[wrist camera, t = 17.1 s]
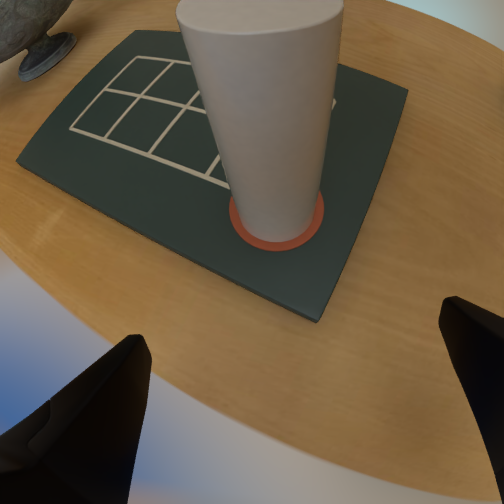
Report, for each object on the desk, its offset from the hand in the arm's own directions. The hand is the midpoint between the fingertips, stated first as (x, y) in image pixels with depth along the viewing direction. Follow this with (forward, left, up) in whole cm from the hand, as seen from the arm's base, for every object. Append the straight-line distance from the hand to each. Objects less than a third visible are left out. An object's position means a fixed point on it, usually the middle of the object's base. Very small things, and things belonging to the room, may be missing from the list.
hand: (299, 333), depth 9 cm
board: (+12, +14, -9) cm, 21 cm away
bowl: (+17, +45, -9) cm, 49 cm away
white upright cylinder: (+7, +4, -8) cm, 11 cm away
